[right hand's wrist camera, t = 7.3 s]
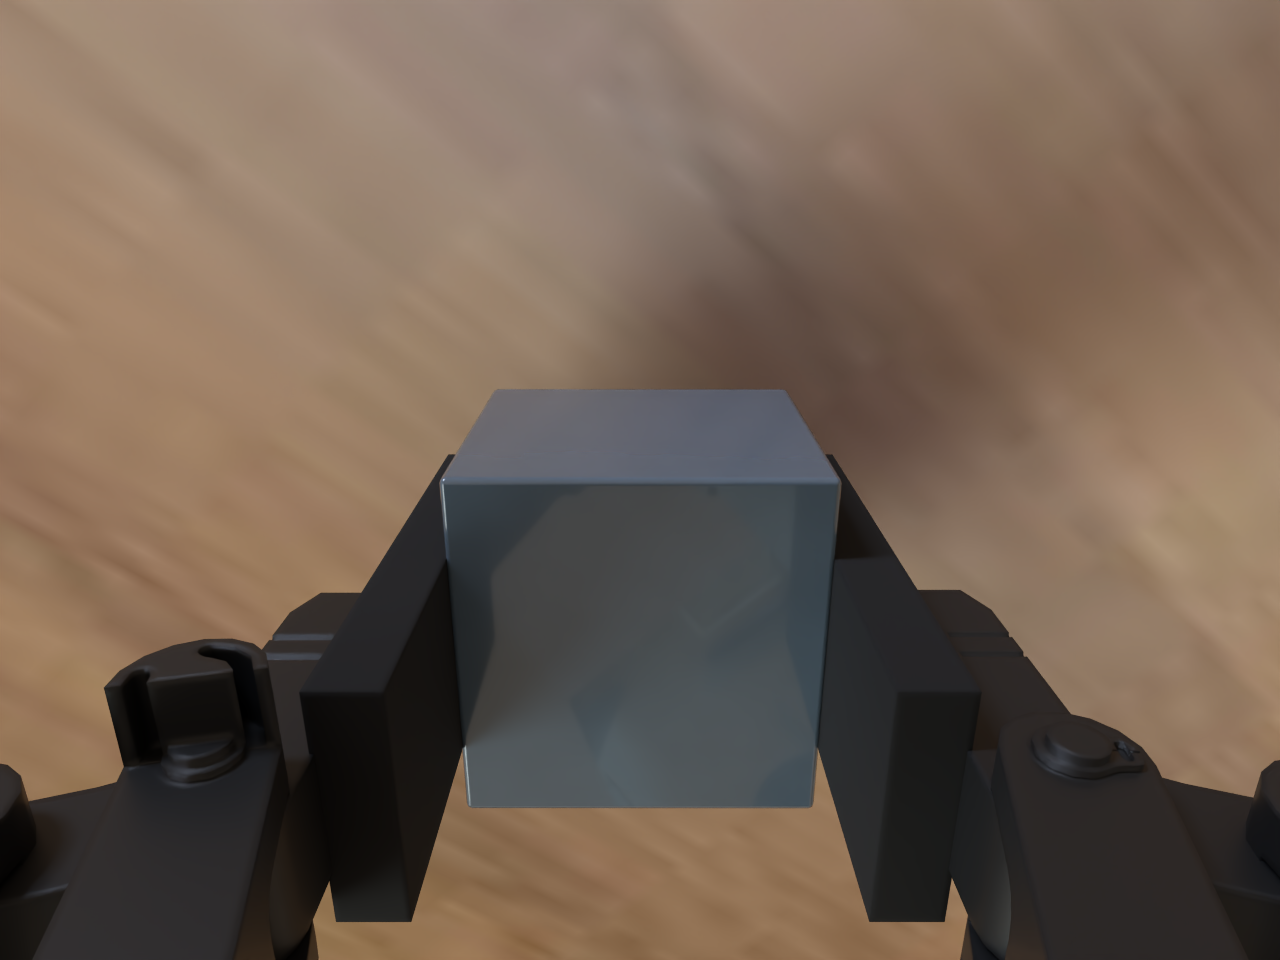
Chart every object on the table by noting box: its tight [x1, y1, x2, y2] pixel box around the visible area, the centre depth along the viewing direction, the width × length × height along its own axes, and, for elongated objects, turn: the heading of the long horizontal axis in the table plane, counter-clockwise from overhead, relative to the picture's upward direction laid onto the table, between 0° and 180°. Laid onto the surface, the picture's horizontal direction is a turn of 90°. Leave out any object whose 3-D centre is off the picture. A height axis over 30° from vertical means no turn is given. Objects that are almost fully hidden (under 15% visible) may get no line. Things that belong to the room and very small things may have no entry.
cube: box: [439, 389, 842, 808], centre depth 13 cm, size 5×5×4 cm
